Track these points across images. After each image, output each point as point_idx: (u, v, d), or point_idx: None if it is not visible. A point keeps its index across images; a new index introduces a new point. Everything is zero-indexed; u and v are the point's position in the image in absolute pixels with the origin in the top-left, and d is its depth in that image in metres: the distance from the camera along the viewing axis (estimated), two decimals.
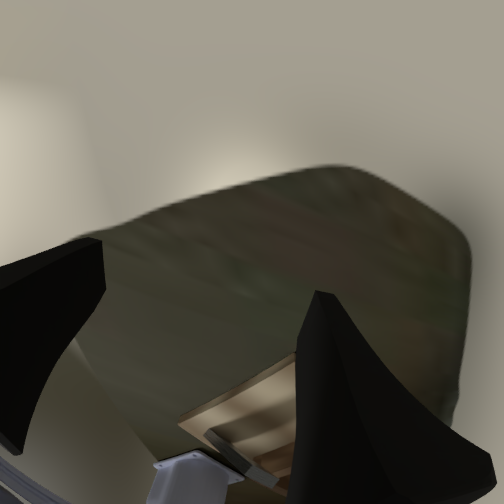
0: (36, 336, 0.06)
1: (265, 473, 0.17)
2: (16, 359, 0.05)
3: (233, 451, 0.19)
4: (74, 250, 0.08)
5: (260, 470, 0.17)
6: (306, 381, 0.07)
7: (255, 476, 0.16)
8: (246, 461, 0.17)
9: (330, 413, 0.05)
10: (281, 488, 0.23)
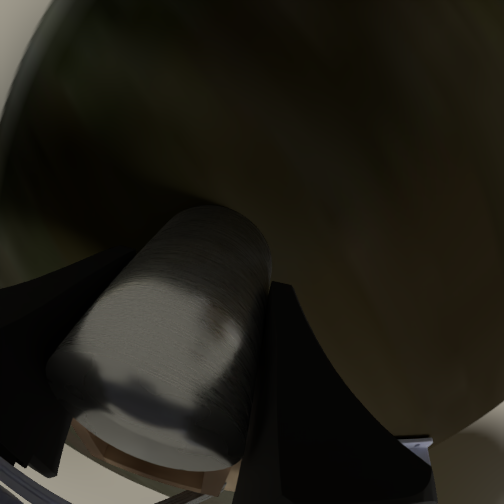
0: None
1: None
2: None
3: None
4: (111, 261, 0.07)
5: None
6: (258, 372, 0.07)
7: None
8: None
9: (264, 404, 0.05)
10: (205, 481, 0.13)
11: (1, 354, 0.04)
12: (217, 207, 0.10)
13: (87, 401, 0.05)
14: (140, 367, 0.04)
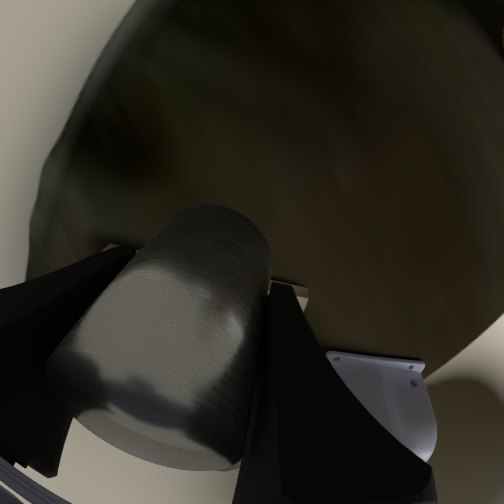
0: None
1: None
2: None
3: None
4: (111, 261, 0.07)
5: None
6: (258, 372, 0.07)
7: None
8: None
9: (264, 404, 0.05)
10: None
11: (1, 354, 0.04)
12: (217, 206, 0.10)
13: (87, 399, 0.05)
14: (141, 365, 0.04)
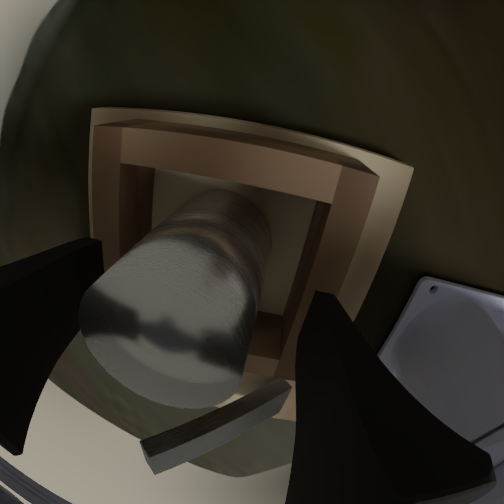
0: (36, 336, 0.06)
1: (144, 453, 0.12)
2: (16, 359, 0.05)
3: None
4: (74, 250, 0.08)
5: (145, 456, 0.12)
6: (307, 381, 0.07)
7: (150, 466, 0.12)
8: None
9: (330, 413, 0.05)
10: (298, 320, 0.11)
11: None
12: (227, 191, 0.12)
13: (113, 330, 0.06)
14: (168, 284, 0.06)
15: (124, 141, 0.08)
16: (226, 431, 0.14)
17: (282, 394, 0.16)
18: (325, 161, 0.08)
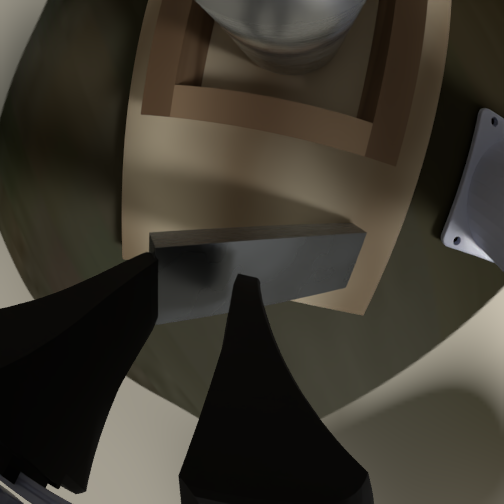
0: (103, 367, 0.06)
1: None
2: (85, 396, 0.05)
3: None
4: (142, 269, 0.07)
5: None
6: None
7: None
8: None
9: None
10: (390, 62, 0.07)
11: (37, 377, 0.03)
12: None
13: None
14: None
15: None
16: (279, 265, 0.11)
17: (355, 237, 0.12)
18: None
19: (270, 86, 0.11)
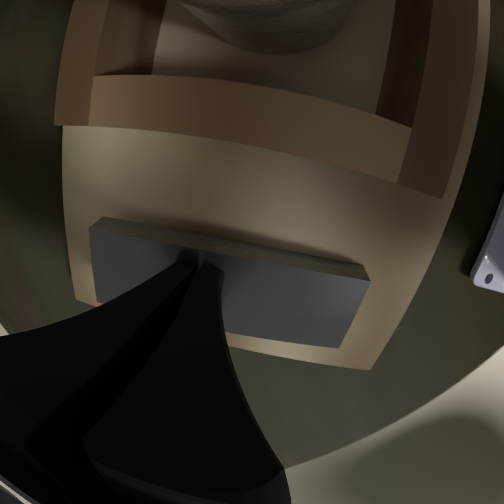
0: None
1: None
2: None
3: None
4: (181, 279, 0.07)
5: None
6: None
7: (97, 278, 0.10)
8: None
9: None
10: (436, 32, 0.04)
11: (92, 405, 0.03)
12: None
13: None
14: None
15: None
16: None
17: (348, 283, 0.09)
18: None
19: (247, 71, 0.07)
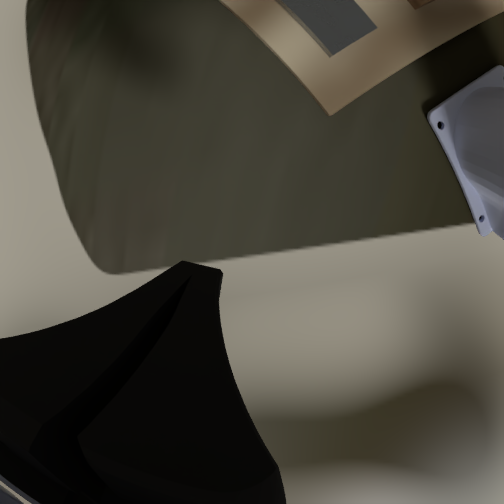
0: None
1: None
2: None
3: None
4: (184, 280, 0.07)
5: None
6: None
7: None
8: None
9: None
10: None
11: (96, 407, 0.03)
12: None
13: None
14: None
15: None
16: None
17: (365, 18, 0.10)
18: None
19: None
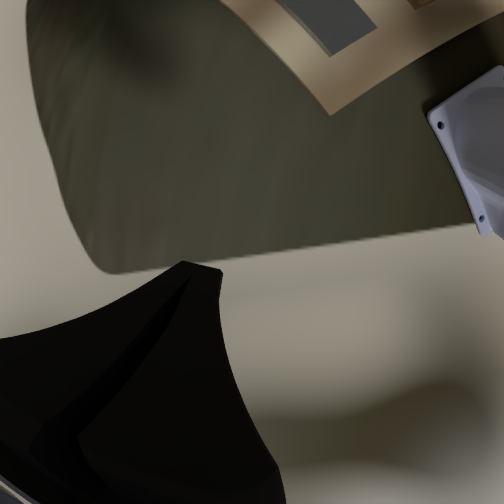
0: None
1: None
2: None
3: None
4: (184, 280, 0.07)
5: None
6: None
7: None
8: None
9: None
10: None
11: (96, 407, 0.03)
12: None
13: None
14: None
15: None
16: None
17: (365, 18, 0.10)
18: None
19: None
